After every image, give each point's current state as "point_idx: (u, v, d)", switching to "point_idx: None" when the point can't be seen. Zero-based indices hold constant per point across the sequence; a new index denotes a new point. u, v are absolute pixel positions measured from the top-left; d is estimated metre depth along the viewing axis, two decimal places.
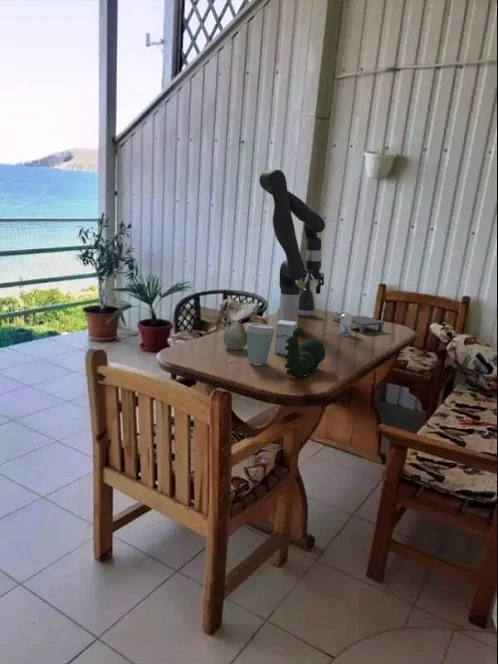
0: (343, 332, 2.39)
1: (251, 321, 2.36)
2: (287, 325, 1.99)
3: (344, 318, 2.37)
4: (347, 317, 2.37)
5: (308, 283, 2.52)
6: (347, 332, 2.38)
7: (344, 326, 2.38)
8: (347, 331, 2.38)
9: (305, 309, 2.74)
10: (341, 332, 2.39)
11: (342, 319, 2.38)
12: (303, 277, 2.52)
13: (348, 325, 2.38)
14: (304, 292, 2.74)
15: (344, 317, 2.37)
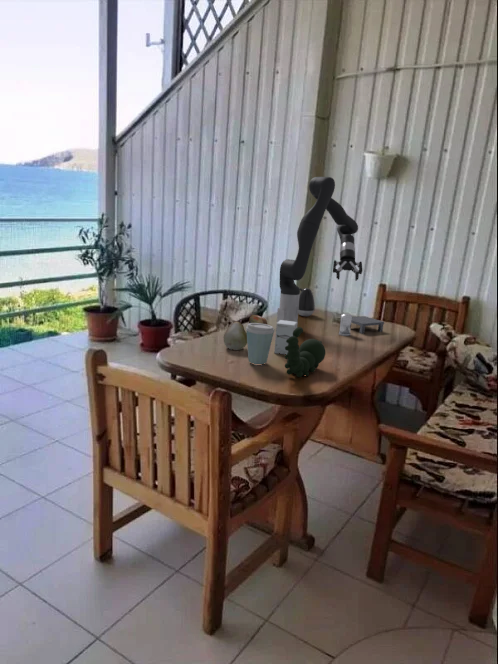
0: (343, 332, 2.39)
1: (251, 321, 2.36)
2: (287, 325, 1.99)
3: (344, 318, 2.37)
4: (347, 317, 2.37)
5: None
6: (347, 332, 2.38)
7: (345, 326, 2.38)
8: (347, 331, 2.38)
9: (305, 309, 2.74)
10: (341, 332, 2.39)
11: (342, 319, 2.38)
12: (335, 266, 2.49)
13: (348, 325, 2.38)
14: (304, 292, 2.74)
15: (344, 317, 2.37)
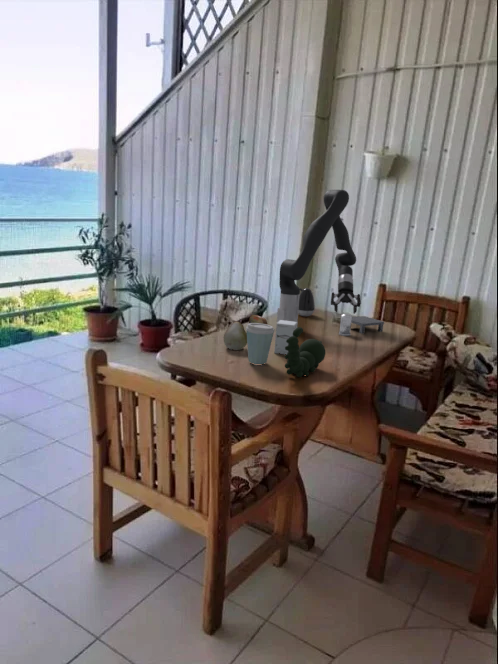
0: (343, 332, 2.39)
1: (251, 321, 2.36)
2: (287, 325, 1.99)
3: (344, 318, 2.37)
4: (347, 317, 2.37)
5: None
6: (347, 332, 2.38)
7: (344, 326, 2.38)
8: (347, 331, 2.38)
9: (305, 309, 2.74)
10: (341, 332, 2.39)
11: (342, 319, 2.38)
12: (333, 298, 2.47)
13: (348, 325, 2.38)
14: (304, 292, 2.74)
15: (344, 317, 2.37)
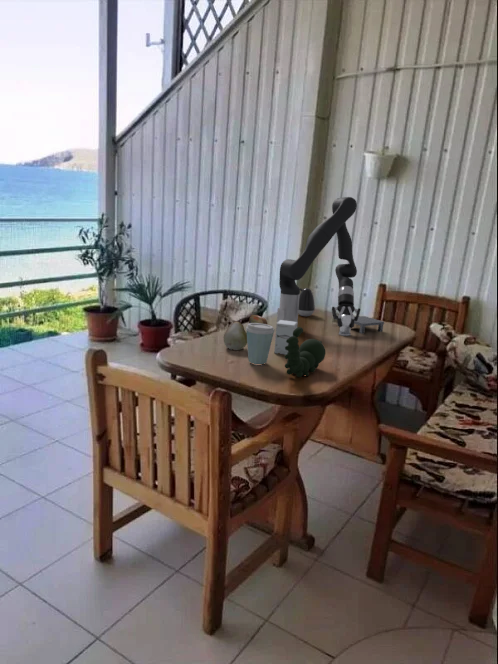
0: (343, 332, 2.38)
1: (251, 321, 2.36)
2: (287, 325, 1.99)
3: (344, 318, 2.37)
4: (347, 317, 2.36)
5: None
6: (347, 332, 2.38)
7: (345, 326, 2.38)
8: (347, 331, 2.38)
9: (305, 309, 2.74)
10: (341, 332, 2.39)
11: (342, 319, 2.38)
12: (335, 313, 2.41)
13: (348, 324, 2.38)
14: (304, 292, 2.74)
15: (344, 317, 2.37)
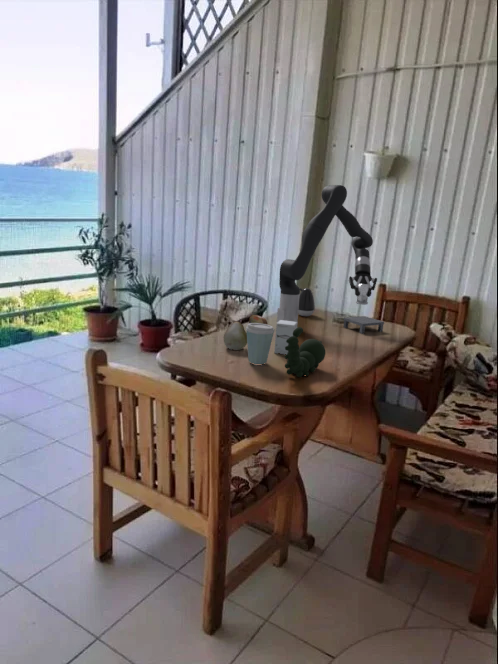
0: (360, 301, 2.44)
1: (251, 321, 2.36)
2: (287, 325, 1.99)
3: (361, 287, 2.43)
4: (364, 286, 2.42)
5: None
6: (364, 301, 2.44)
7: (362, 295, 2.44)
8: (364, 300, 2.44)
9: (305, 309, 2.74)
10: (358, 301, 2.45)
11: (359, 288, 2.44)
12: (352, 282, 2.47)
13: (366, 293, 2.43)
14: (304, 292, 2.74)
15: (361, 286, 2.43)
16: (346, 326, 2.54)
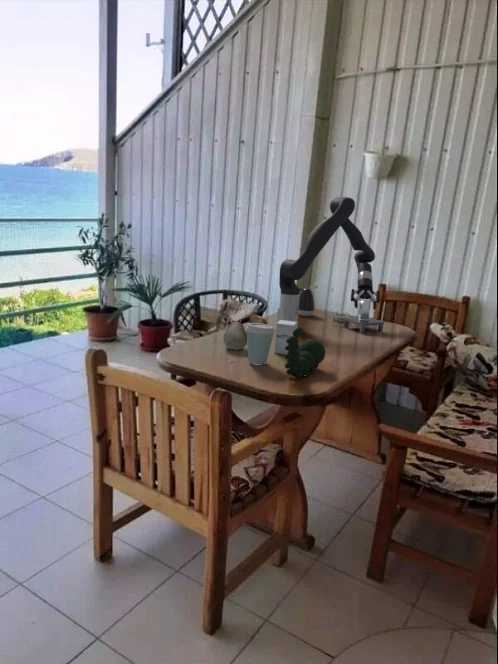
0: (362, 317, 2.49)
1: (251, 321, 2.36)
2: (287, 325, 1.99)
3: (363, 304, 2.48)
4: (366, 303, 2.47)
5: None
6: (366, 317, 2.49)
7: (364, 312, 2.49)
8: (366, 316, 2.49)
9: (305, 309, 2.74)
10: (360, 317, 2.50)
11: (361, 305, 2.49)
12: (353, 295, 2.52)
13: (367, 310, 2.49)
14: (304, 292, 2.74)
15: (363, 303, 2.48)
16: (346, 326, 2.54)
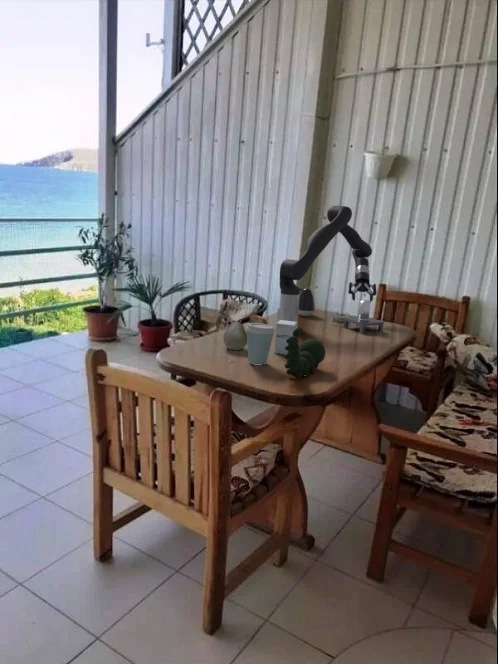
0: (362, 317, 2.49)
1: (251, 321, 2.36)
2: (287, 325, 1.99)
3: (363, 304, 2.48)
4: (366, 303, 2.47)
5: None
6: (366, 317, 2.49)
7: (364, 312, 2.49)
8: (366, 316, 2.49)
9: (305, 309, 2.74)
10: (360, 317, 2.50)
11: (361, 305, 2.49)
12: (350, 287, 2.64)
13: (367, 310, 2.49)
14: (304, 292, 2.74)
15: (363, 303, 2.48)
16: (346, 326, 2.54)
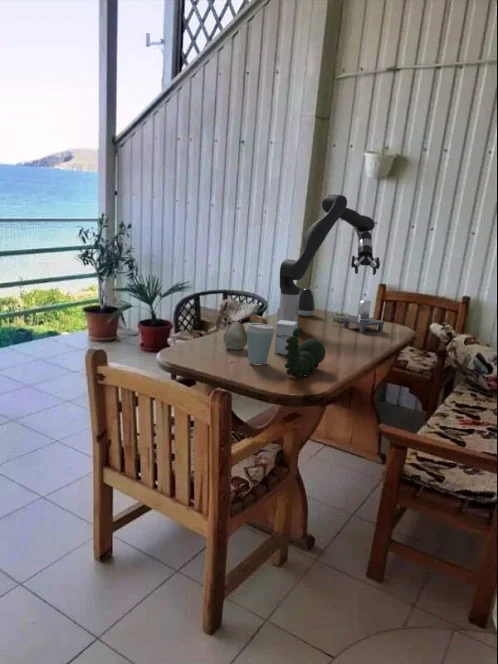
0: (362, 317, 2.49)
1: (251, 321, 2.36)
2: (287, 325, 1.99)
3: (363, 304, 2.48)
4: (366, 303, 2.47)
5: None
6: (366, 317, 2.49)
7: (364, 312, 2.49)
8: (366, 316, 2.49)
9: (305, 309, 2.74)
10: (360, 317, 2.50)
11: (361, 305, 2.49)
12: (353, 261, 2.61)
13: (367, 310, 2.49)
14: (304, 292, 2.74)
15: (363, 303, 2.48)
16: (346, 326, 2.54)
